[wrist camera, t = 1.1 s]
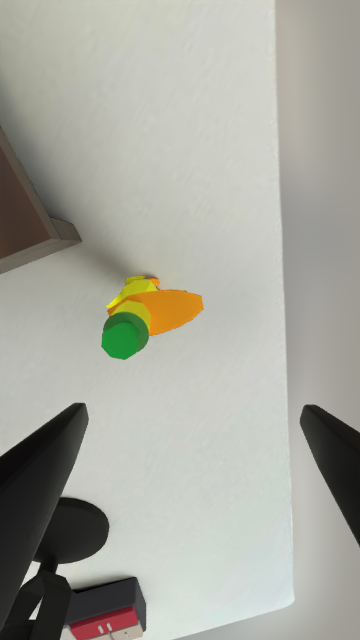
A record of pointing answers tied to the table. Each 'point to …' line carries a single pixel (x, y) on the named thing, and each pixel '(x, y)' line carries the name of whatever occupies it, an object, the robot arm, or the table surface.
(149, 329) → the toy figure
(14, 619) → the microphone
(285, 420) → the table surface
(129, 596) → the grey and red case
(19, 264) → the shelf
